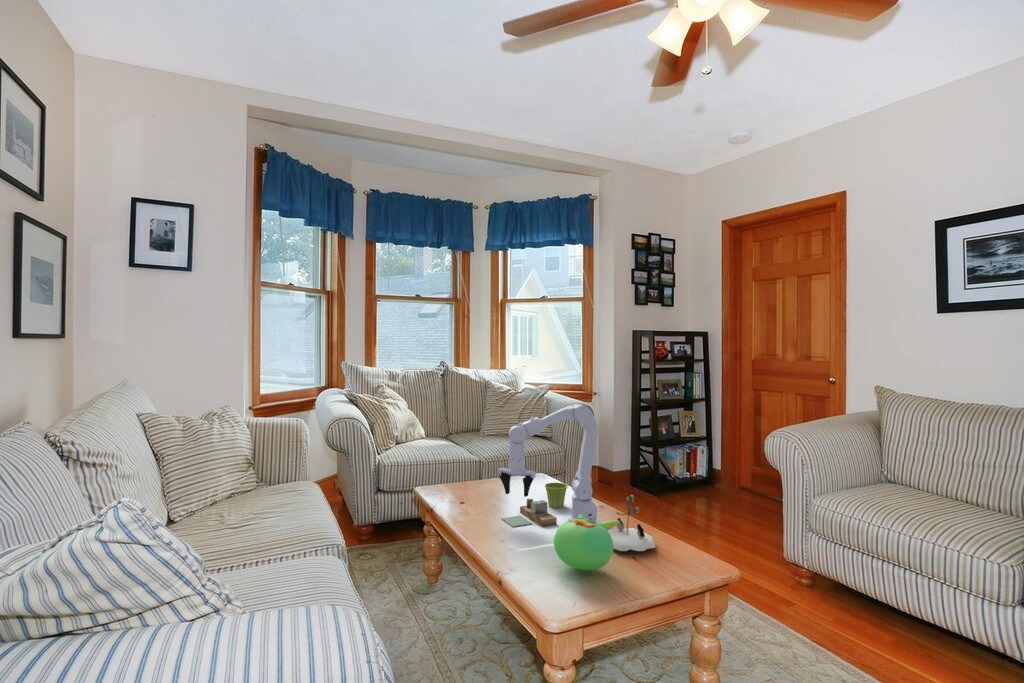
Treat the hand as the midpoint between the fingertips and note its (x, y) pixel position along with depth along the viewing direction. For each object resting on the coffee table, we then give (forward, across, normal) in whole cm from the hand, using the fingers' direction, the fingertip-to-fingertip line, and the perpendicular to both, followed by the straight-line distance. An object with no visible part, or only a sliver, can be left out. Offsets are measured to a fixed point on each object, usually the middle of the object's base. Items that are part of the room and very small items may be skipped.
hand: (516, 494), depth 199 cm
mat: (+10, 0, 0) cm, 10 cm away
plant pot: (+10, -6, -24) cm, 27 cm away
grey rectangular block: (+8, -6, -6) cm, 12 cm away
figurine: (+11, -42, +3) cm, 43 cm away
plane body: (+10, -6, -7) cm, 14 cm away
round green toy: (+10, -35, +28) cm, 46 cm away
